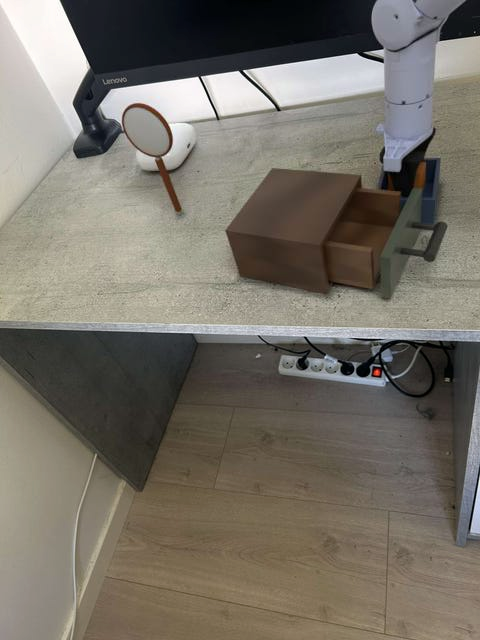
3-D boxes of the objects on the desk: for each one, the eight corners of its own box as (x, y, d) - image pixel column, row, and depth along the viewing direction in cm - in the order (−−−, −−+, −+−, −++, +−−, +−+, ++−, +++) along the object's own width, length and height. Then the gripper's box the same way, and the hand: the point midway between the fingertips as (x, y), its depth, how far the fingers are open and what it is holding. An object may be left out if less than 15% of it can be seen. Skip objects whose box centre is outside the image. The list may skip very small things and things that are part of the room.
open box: (384, 184, 77) (384, 159, 74) (438, 183, 74) (440, 157, 71) (375, 225, 71) (374, 199, 68) (433, 226, 68) (435, 199, 65)
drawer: (452, 234, 65) (456, 191, 60) (424, 305, 59) (427, 264, 54) (334, 219, 73) (330, 180, 68) (298, 280, 66) (291, 242, 61)
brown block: (425, 186, 70) (426, 162, 67) (419, 198, 69) (420, 173, 66) (394, 183, 72) (394, 159, 69) (388, 195, 71) (388, 171, 68)
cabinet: (364, 225, 72) (361, 174, 66) (327, 294, 65) (320, 245, 58) (282, 214, 78) (272, 167, 72) (240, 276, 71) (224, 230, 65)
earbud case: (204, 140, 101) (196, 115, 97) (180, 176, 94) (170, 151, 90) (162, 142, 105) (153, 118, 101) (135, 177, 98) (125, 153, 94)
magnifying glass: (158, 215, 87) (110, 106, 72) (163, 209, 88) (116, 101, 73) (198, 220, 83) (156, 106, 69) (203, 213, 84) (163, 100, 69)
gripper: (394, 66, 66) (394, 156, 76) (357, 123, 59) (363, 214, 68) (449, 65, 62) (442, 159, 72) (417, 125, 55) (414, 220, 65)
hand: (407, 186), depth 70 cm, fingers closed on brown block, 3 cm apart
